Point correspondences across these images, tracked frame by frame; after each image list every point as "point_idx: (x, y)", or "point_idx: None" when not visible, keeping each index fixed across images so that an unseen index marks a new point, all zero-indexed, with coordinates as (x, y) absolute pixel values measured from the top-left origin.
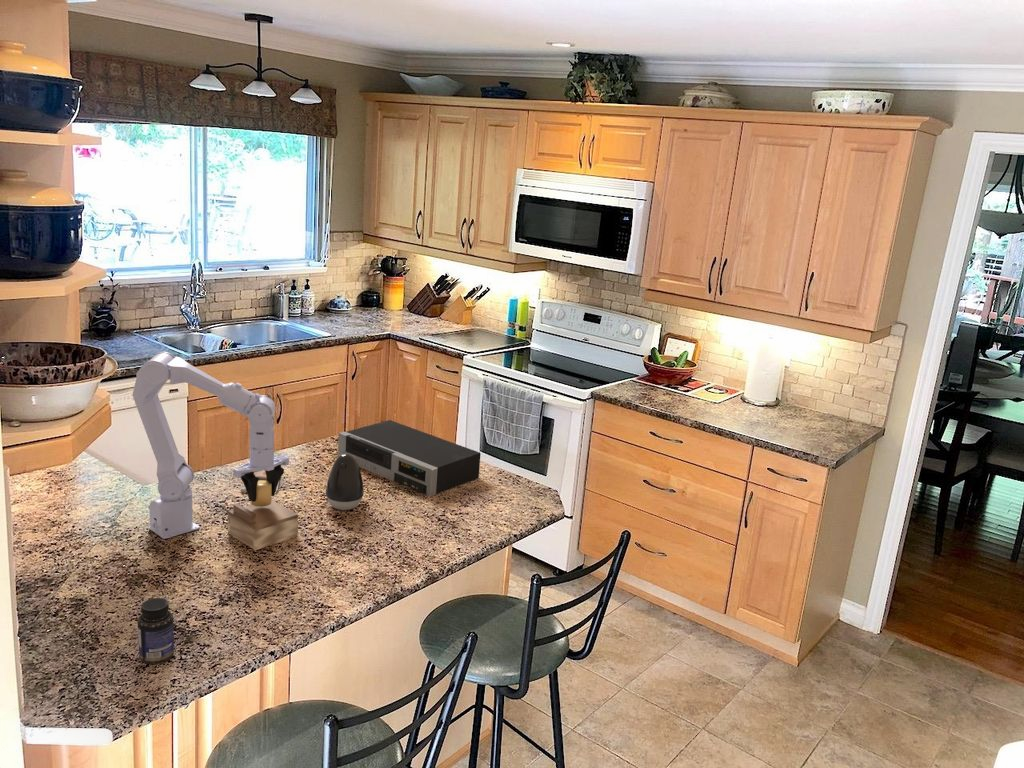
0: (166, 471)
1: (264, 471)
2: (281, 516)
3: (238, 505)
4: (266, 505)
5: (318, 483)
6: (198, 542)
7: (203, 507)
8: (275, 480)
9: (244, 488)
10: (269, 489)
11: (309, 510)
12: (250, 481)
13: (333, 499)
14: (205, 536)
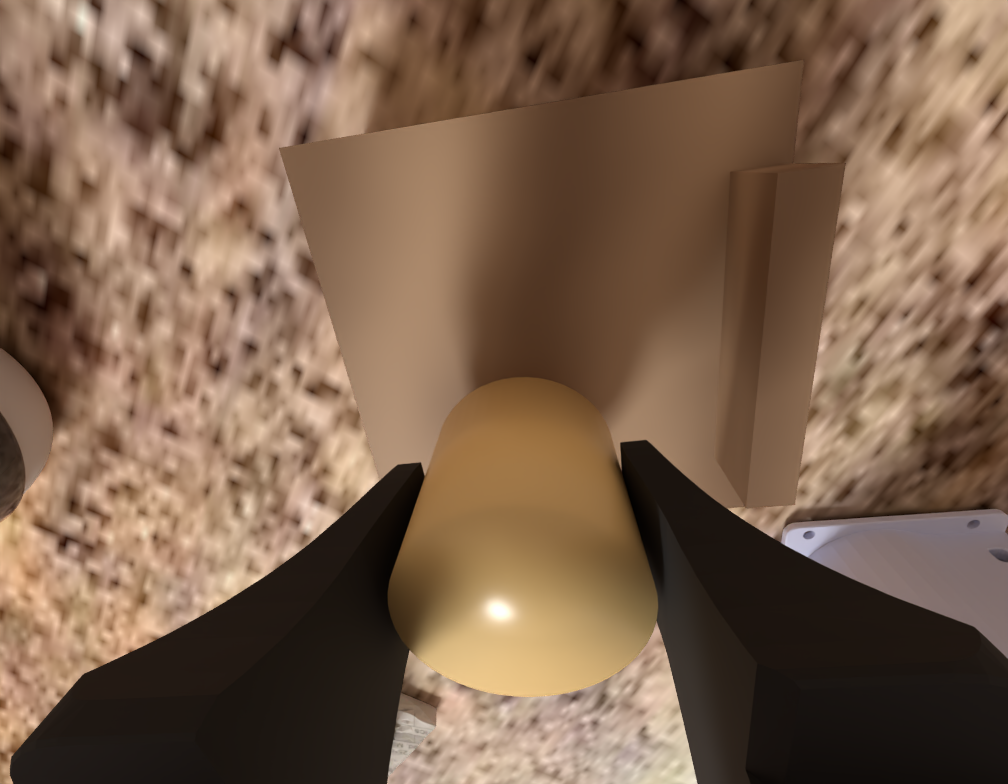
0: None
1: None
2: (443, 192)
3: (771, 468)
4: (518, 379)
5: (93, 644)
6: (897, 397)
7: (636, 674)
8: (324, 583)
9: (417, 724)
10: (461, 483)
11: (193, 440)
12: (989, 641)
13: None
14: (818, 441)
